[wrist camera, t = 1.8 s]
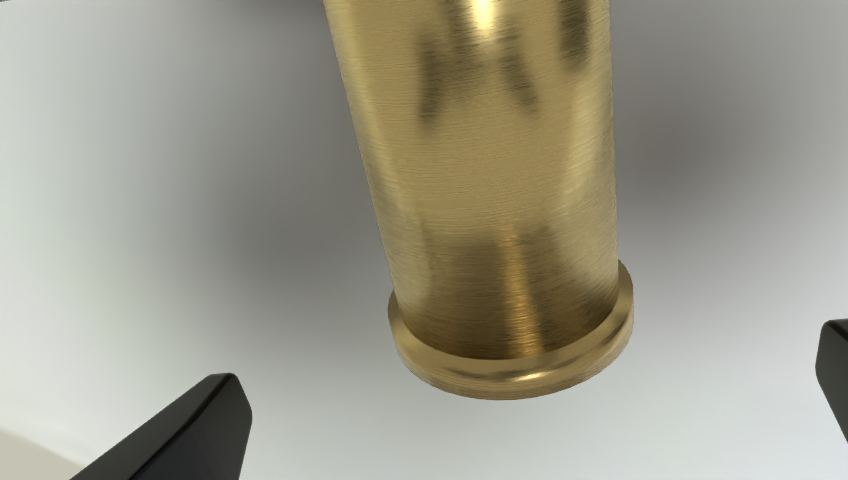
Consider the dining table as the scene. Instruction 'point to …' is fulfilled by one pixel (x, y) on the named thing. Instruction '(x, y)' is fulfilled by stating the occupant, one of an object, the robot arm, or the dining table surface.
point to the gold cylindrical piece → (491, 186)
